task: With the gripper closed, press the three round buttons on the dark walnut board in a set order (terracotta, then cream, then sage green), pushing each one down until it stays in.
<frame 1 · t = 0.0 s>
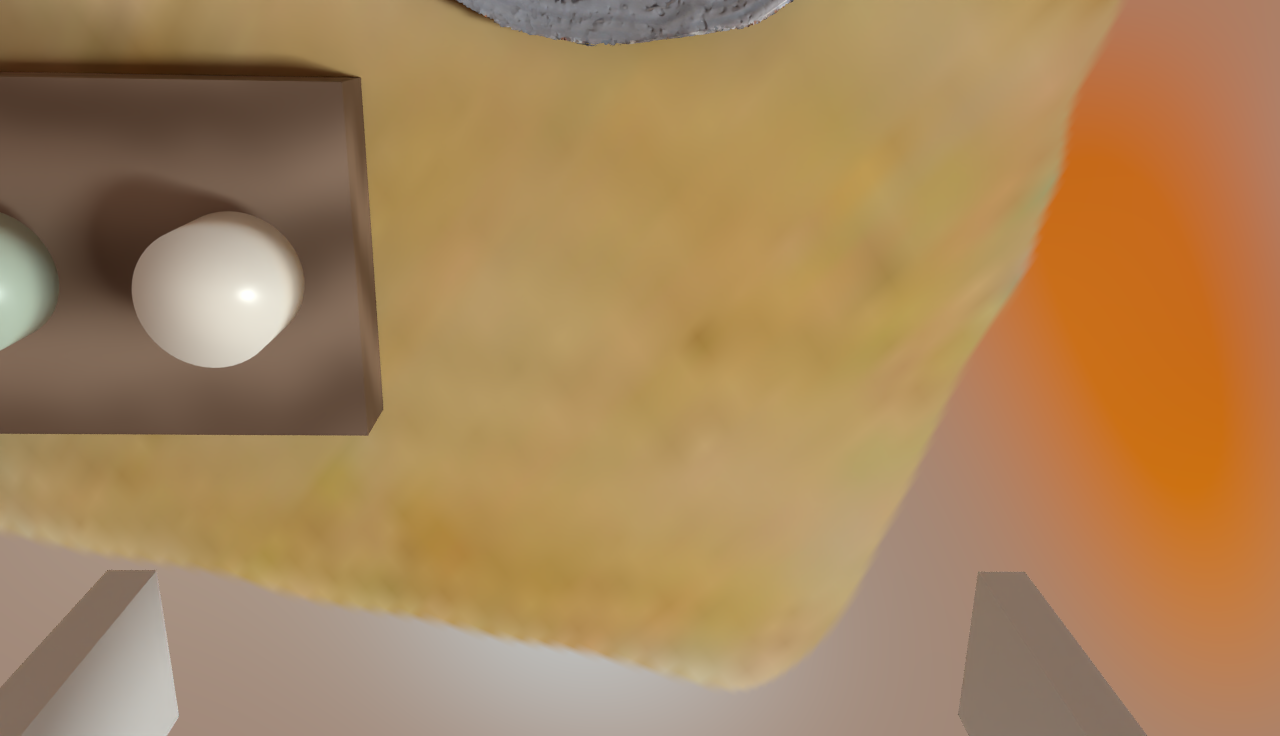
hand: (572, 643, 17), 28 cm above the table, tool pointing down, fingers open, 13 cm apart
cream button: (221, 288, 37), point 6 cm above the table, slide at 0.0 cm
button board: (54, 248, 42), on the table
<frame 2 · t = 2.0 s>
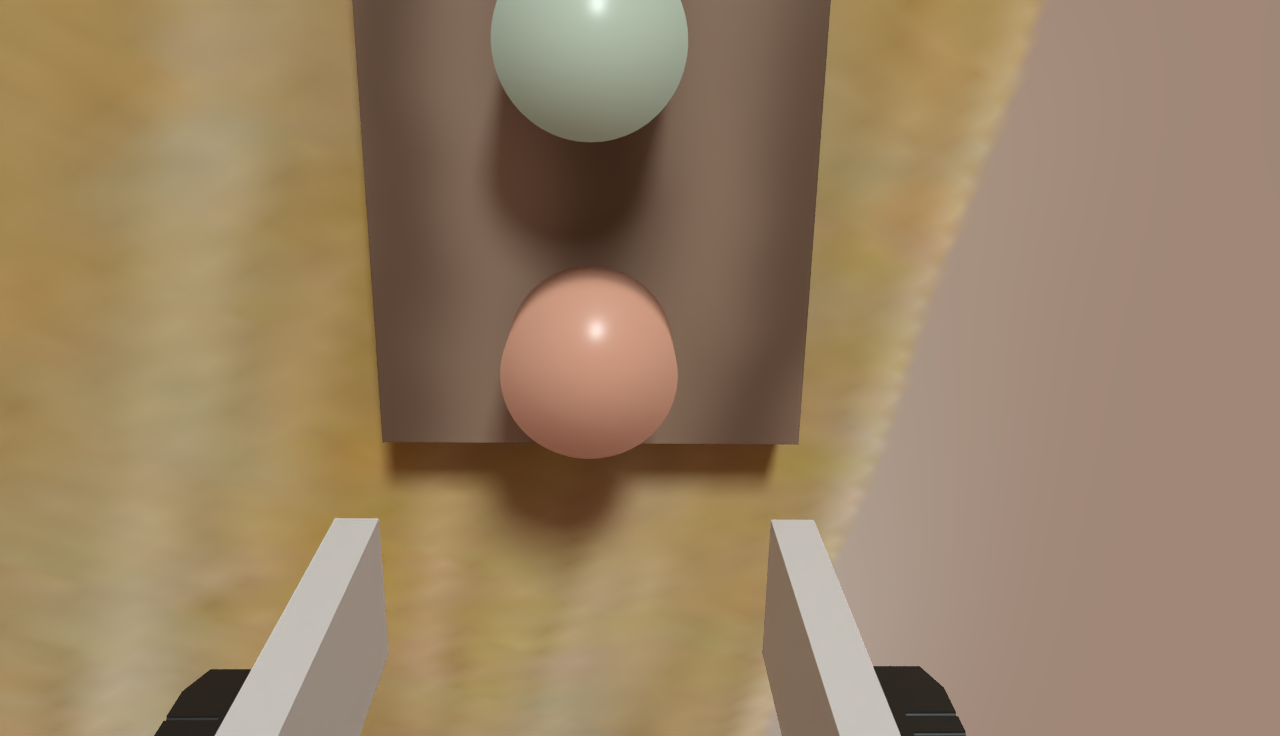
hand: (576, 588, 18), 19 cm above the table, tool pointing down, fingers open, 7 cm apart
terracotta button: (590, 360, 30), point 6 cm above the table, slide at 0.0 cm
sage button: (590, 40, 27), point 6 cm above the table, slide at 0.0 cm
button board: (594, 36, 33), on the table
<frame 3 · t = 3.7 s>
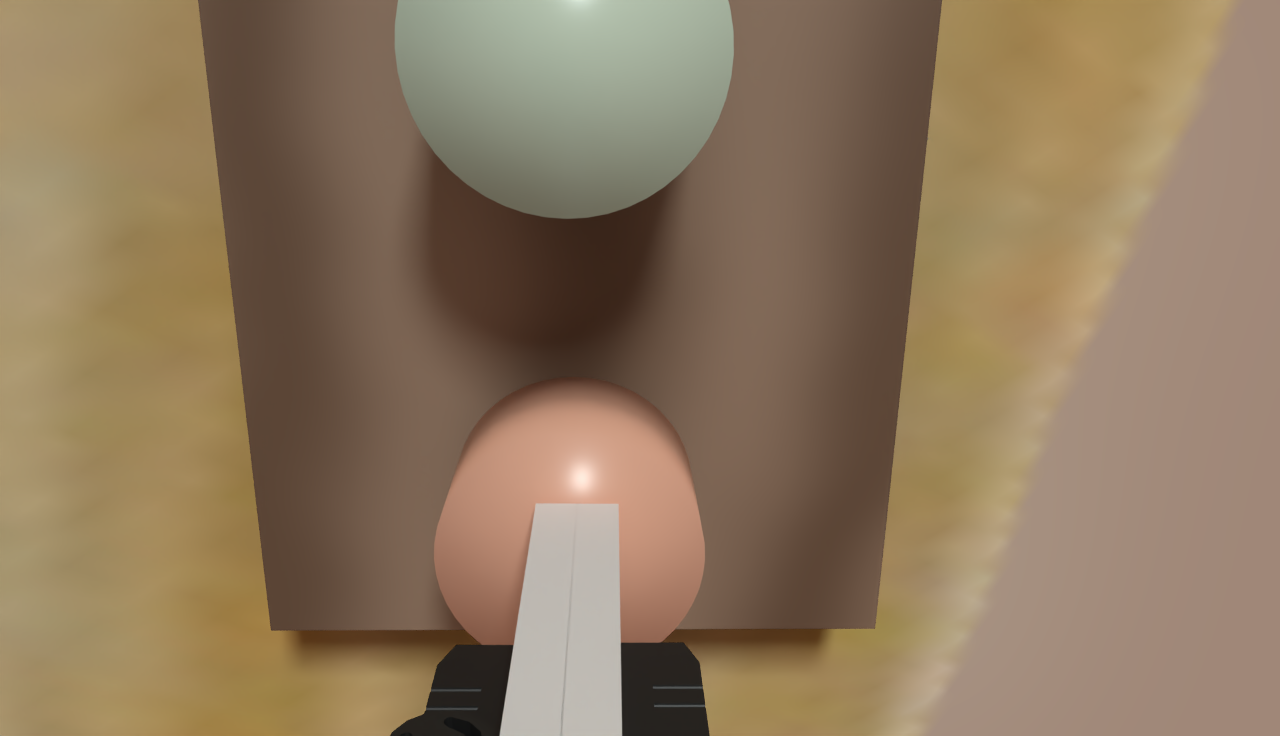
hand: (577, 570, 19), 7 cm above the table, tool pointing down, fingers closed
terracotta button: (572, 520, 20), point 5 cm above the table, slide at 0.9 cm, touching gripper
sage button: (568, 47, 17), point 6 cm above the table, slide at 0.0 cm
button board: (578, 38, 22), on the table
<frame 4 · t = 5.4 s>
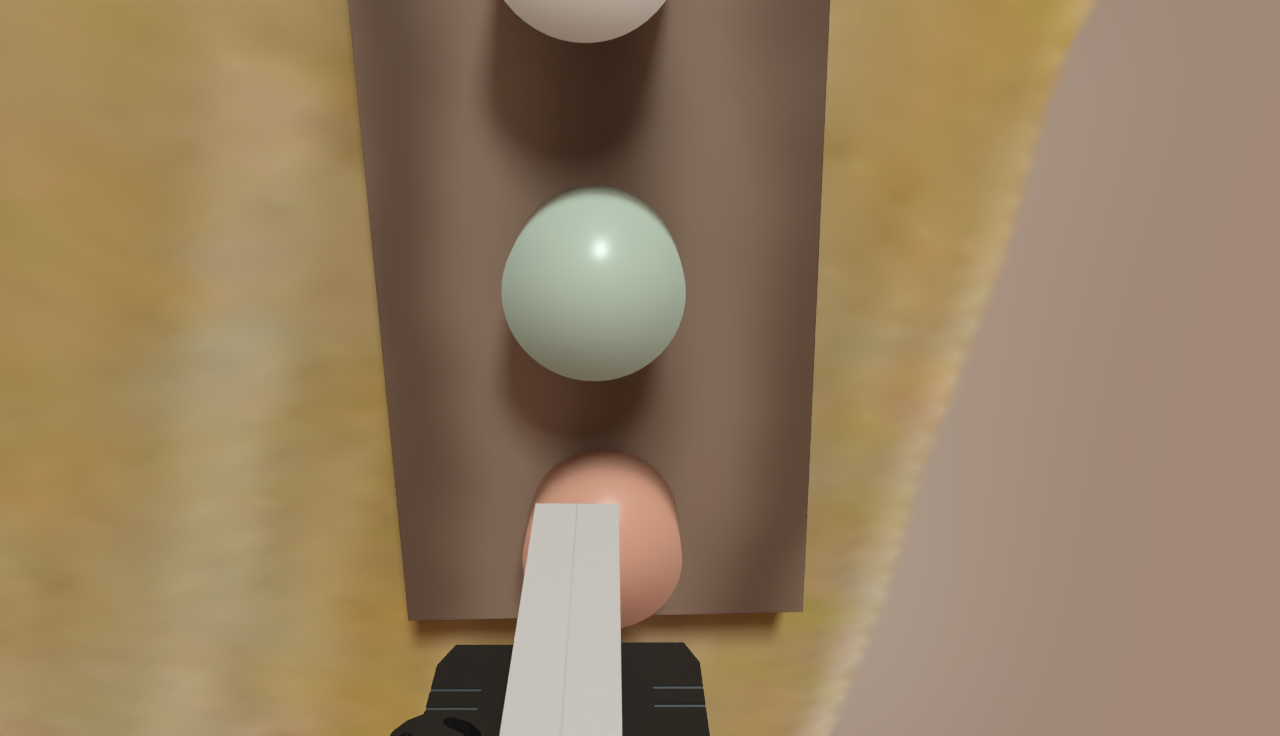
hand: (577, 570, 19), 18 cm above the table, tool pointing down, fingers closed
terracotta button: (603, 538, 34), point 5 cm above the table, slide at 1.5 cm
sage button: (594, 281, 29), point 6 cm above the table, slide at 0.0 cm
button board: (598, 237, 35), on the table
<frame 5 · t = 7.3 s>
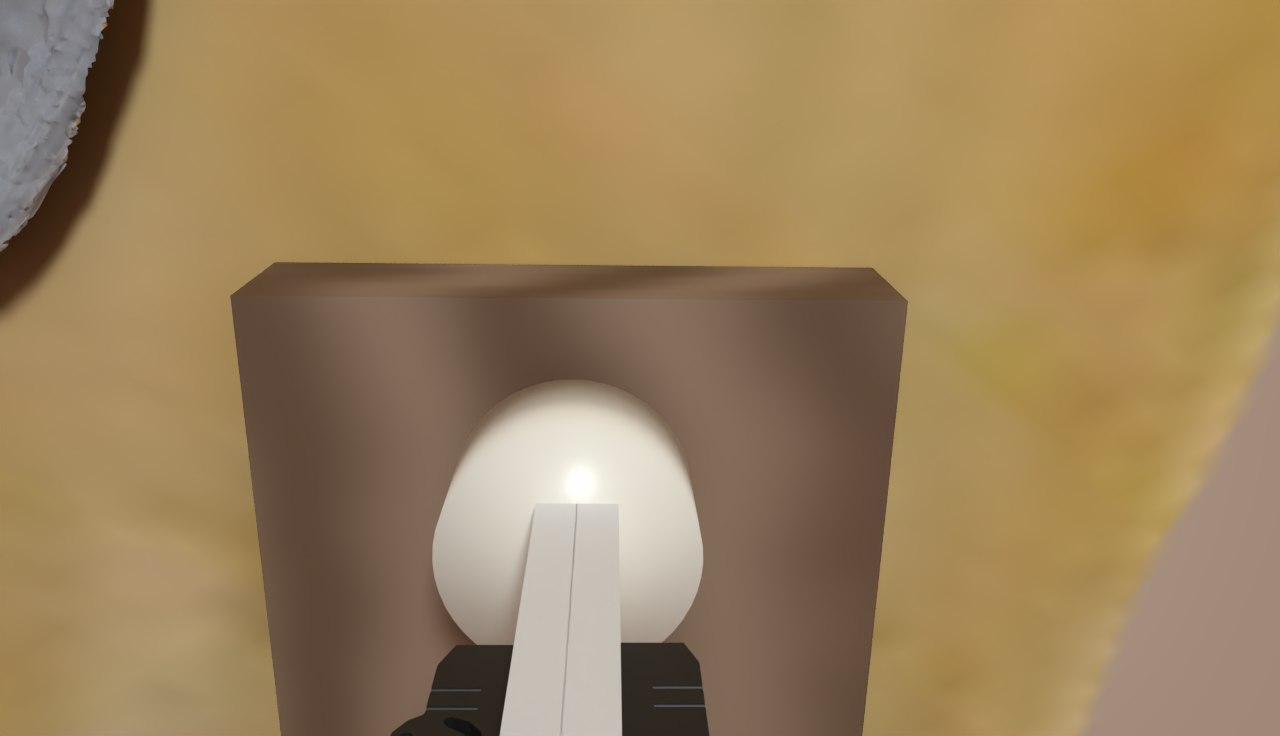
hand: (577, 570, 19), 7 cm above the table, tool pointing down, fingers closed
cream button: (570, 523, 20), point 5 cm above the table, slide at 0.9 cm, touching gripper
button board: (578, 726, 28), on the table
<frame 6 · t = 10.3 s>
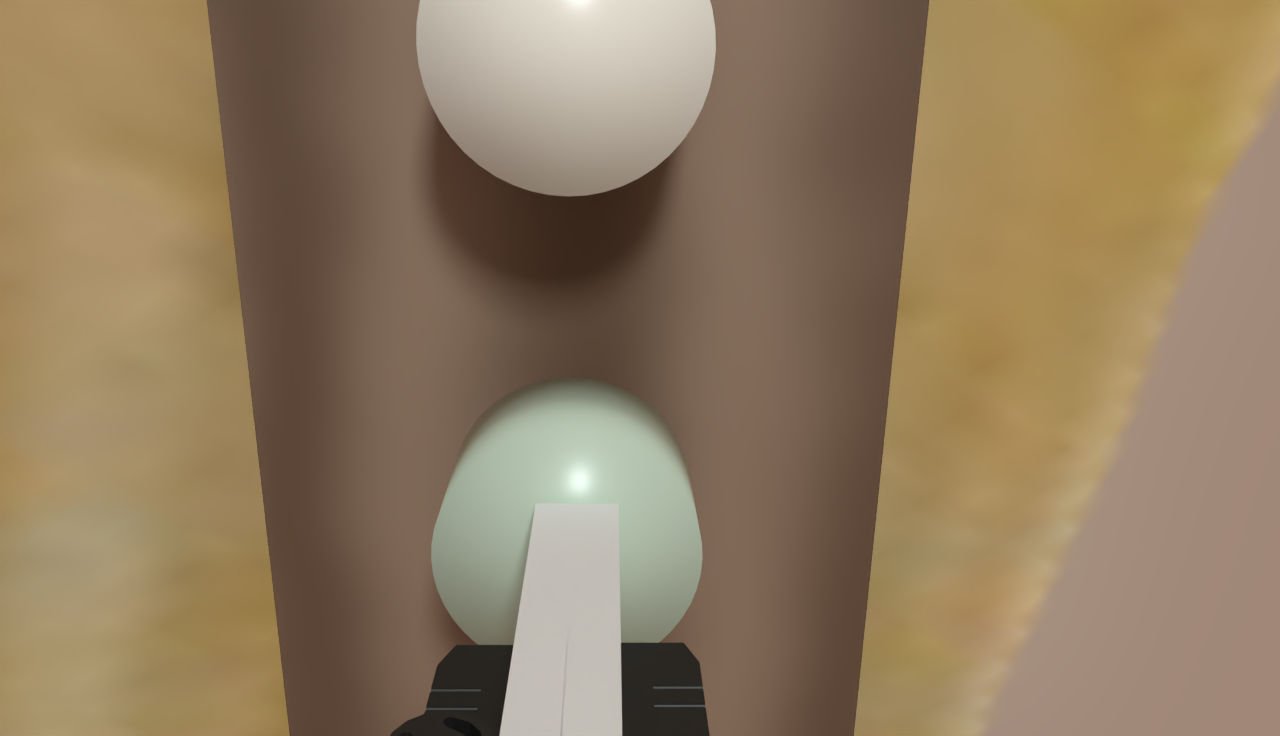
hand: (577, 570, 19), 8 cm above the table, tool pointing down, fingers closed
cream button: (569, 44, 19), point 5 cm above the table, slide at 1.5 cm
sage button: (569, 521, 20), point 6 cm above the table, slide at 0.3 cm, touching gripper
button board: (577, 412, 26), on the table
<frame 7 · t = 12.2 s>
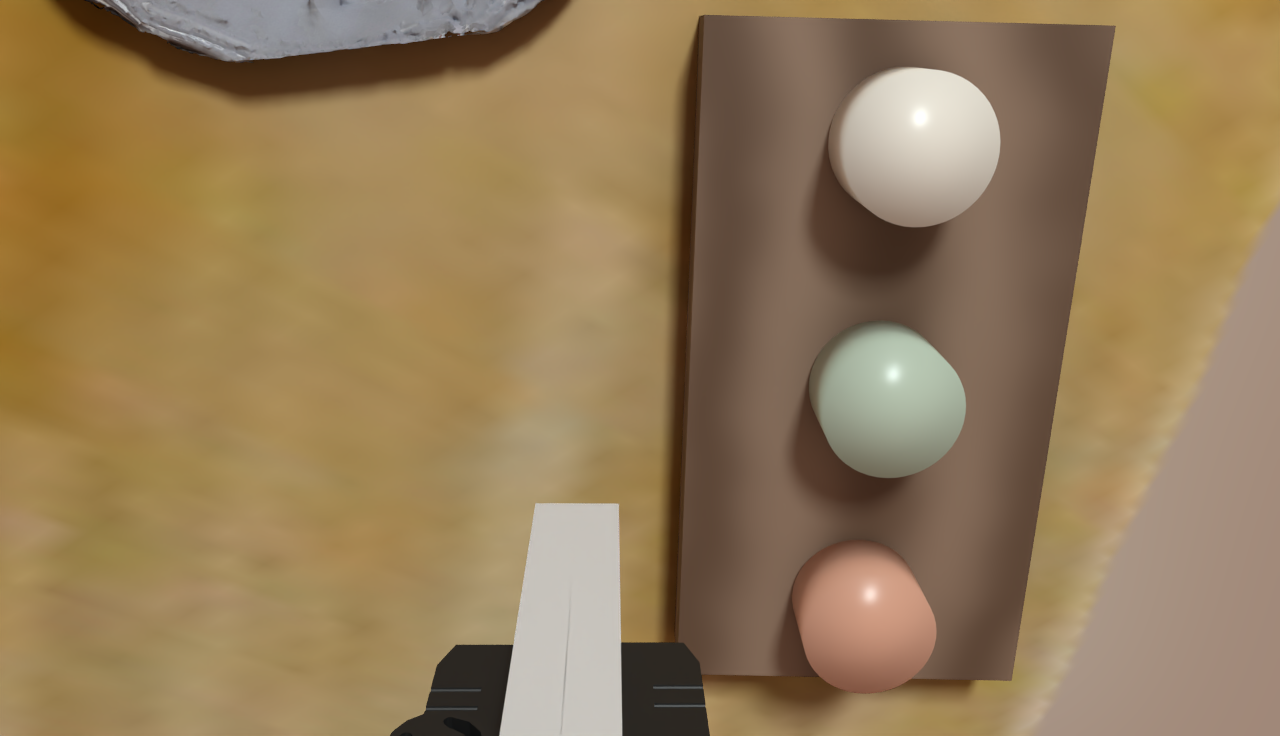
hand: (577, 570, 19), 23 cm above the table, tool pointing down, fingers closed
terracotta button: (861, 615, 40), point 5 cm above the table, slide at 1.5 cm
cream button: (910, 145, 34), point 5 cm above the table, slide at 1.5 cm
sage button: (884, 397, 37), point 5 cm above the table, slide at 1.5 cm
button board: (857, 358, 42), on the table
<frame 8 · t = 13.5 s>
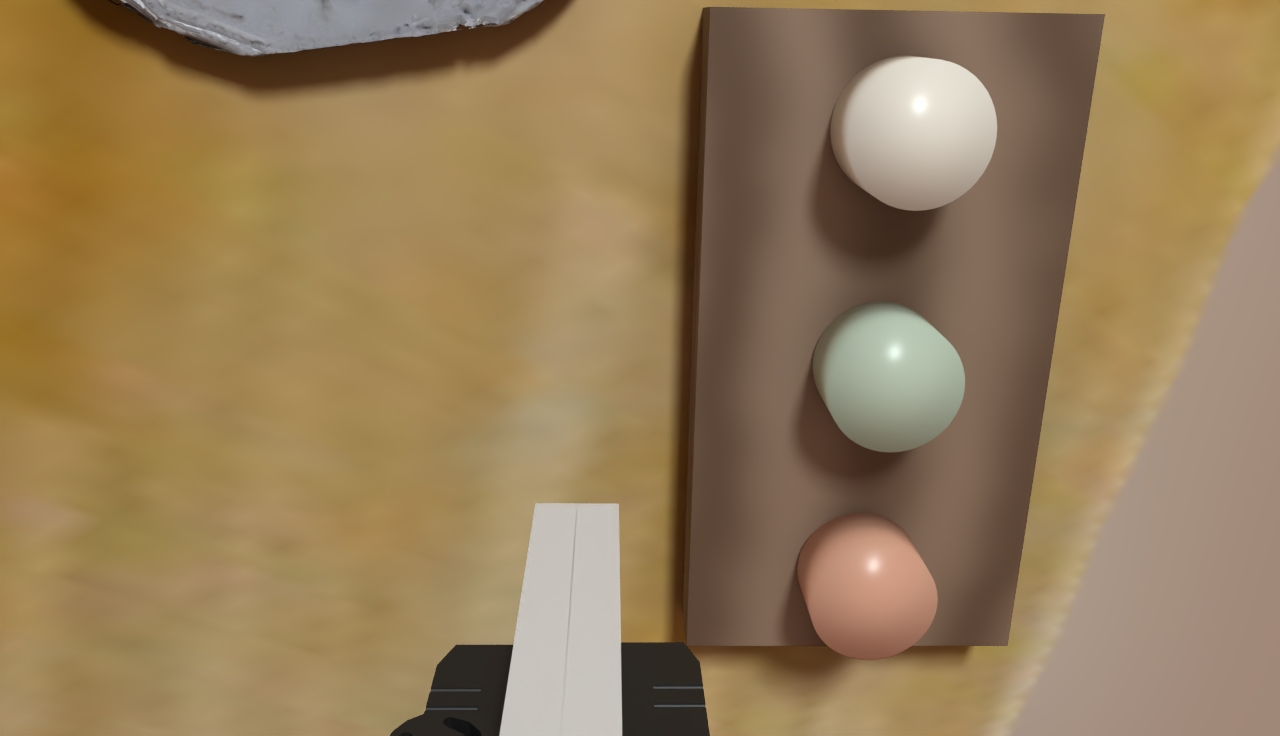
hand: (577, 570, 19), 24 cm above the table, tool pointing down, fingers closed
terracotta button: (865, 585, 42), point 5 cm above the table, slide at 1.5 cm
cream button: (910, 131, 36), point 5 cm above the table, slide at 1.5 cm
sage button: (886, 375, 39), point 5 cm above the table, slide at 1.5 cm
button board: (857, 338, 43), on the table
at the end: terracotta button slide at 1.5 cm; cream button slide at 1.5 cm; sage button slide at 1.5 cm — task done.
